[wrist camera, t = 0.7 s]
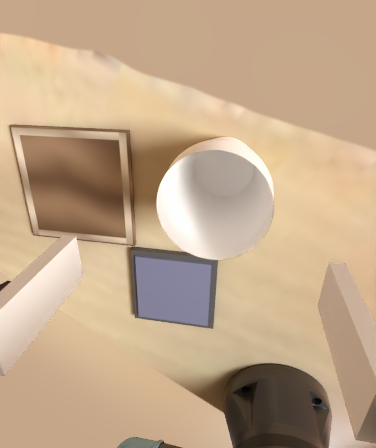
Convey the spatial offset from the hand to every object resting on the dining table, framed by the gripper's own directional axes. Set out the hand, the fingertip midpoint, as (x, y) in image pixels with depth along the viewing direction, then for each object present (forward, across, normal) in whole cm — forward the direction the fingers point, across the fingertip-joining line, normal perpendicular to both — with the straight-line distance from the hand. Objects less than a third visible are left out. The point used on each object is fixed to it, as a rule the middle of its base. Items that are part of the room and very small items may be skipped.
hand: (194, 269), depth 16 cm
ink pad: (+19, +5, +17) cm, 26 cm away
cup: (+20, 0, 0) cm, 20 cm away
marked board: (+19, +17, +4) cm, 26 cm away
